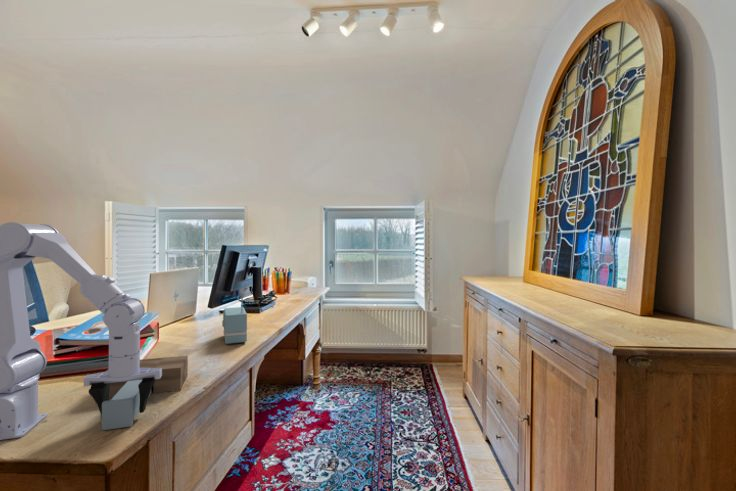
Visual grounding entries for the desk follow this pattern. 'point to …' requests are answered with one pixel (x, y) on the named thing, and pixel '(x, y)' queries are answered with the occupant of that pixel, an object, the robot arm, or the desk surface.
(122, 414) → the grey-blue rectangular bar
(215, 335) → the desk surface
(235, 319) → the grey banded block
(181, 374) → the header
